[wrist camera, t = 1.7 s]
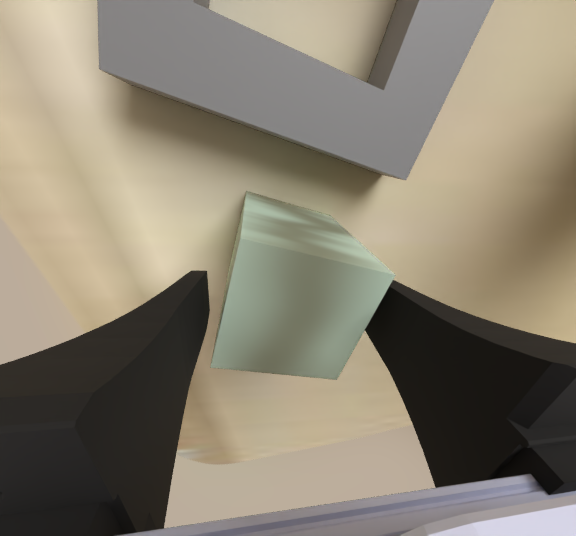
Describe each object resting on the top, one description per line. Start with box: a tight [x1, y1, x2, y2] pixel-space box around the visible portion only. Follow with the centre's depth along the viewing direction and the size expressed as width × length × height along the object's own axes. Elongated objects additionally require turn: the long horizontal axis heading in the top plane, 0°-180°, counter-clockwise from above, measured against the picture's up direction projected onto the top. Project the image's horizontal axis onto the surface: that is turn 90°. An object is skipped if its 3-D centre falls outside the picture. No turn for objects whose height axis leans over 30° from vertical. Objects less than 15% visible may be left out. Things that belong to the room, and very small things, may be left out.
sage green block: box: [210, 191, 395, 380], centre depth 12 cm, size 6×6×8 cm
